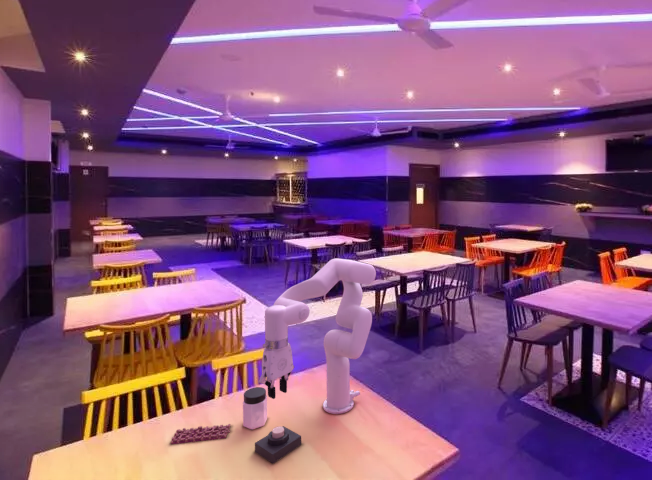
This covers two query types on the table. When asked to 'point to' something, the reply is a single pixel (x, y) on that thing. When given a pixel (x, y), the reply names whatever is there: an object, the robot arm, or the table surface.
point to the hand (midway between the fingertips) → (277, 393)
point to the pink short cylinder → (278, 432)
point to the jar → (254, 408)
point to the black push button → (277, 445)
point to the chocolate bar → (200, 434)
